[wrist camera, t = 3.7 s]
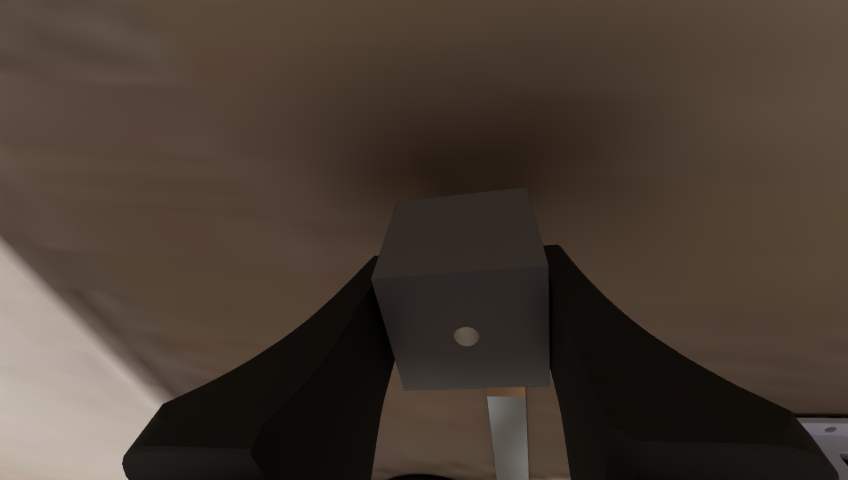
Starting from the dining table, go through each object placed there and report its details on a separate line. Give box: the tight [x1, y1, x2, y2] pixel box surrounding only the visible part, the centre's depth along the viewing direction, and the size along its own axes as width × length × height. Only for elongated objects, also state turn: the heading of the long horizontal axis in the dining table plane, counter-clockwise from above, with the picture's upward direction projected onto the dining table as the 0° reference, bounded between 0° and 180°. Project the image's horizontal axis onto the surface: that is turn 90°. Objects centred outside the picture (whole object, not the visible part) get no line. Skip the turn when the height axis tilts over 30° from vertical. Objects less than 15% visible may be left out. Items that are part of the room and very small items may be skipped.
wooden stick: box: [486, 387, 529, 480], centre depth 26 cm, size 2×28×1 cm, turn 9°
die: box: [371, 187, 550, 391], centre depth 12 cm, size 4×4×4 cm
